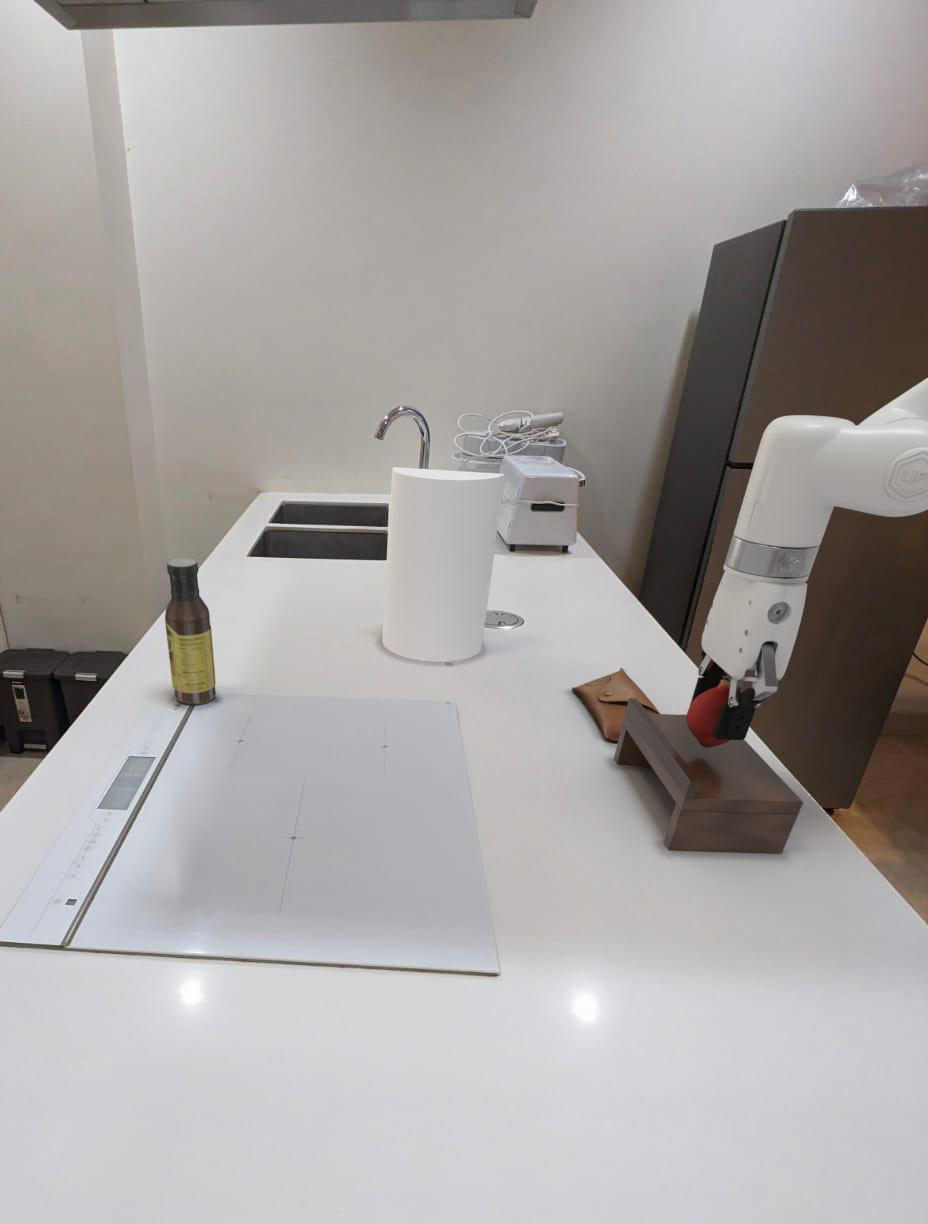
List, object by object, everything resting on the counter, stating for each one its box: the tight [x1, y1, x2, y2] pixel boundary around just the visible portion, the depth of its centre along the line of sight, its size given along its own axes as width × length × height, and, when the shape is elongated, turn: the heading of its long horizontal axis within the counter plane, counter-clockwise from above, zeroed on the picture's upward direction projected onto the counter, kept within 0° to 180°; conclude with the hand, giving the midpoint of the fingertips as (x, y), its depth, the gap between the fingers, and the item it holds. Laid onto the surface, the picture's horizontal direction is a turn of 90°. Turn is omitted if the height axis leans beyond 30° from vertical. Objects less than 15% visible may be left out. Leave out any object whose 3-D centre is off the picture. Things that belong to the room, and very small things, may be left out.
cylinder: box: [381, 466, 506, 663], centre depth 123 cm, size 17×17×28 cm
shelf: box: [613, 698, 804, 854], centre depth 86 cm, size 12×20×8 cm, turn 178°
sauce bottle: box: [164, 557, 217, 706], centre depth 105 cm, size 6×6×20 cm
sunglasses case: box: [571, 667, 661, 743], centre depth 107 cm, size 18×7×7 cm
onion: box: [686, 680, 731, 748], centre depth 82 cm, size 6×6×8 cm
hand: (716, 722), depth 82 cm, fingers closed on onion, 5 cm apart
